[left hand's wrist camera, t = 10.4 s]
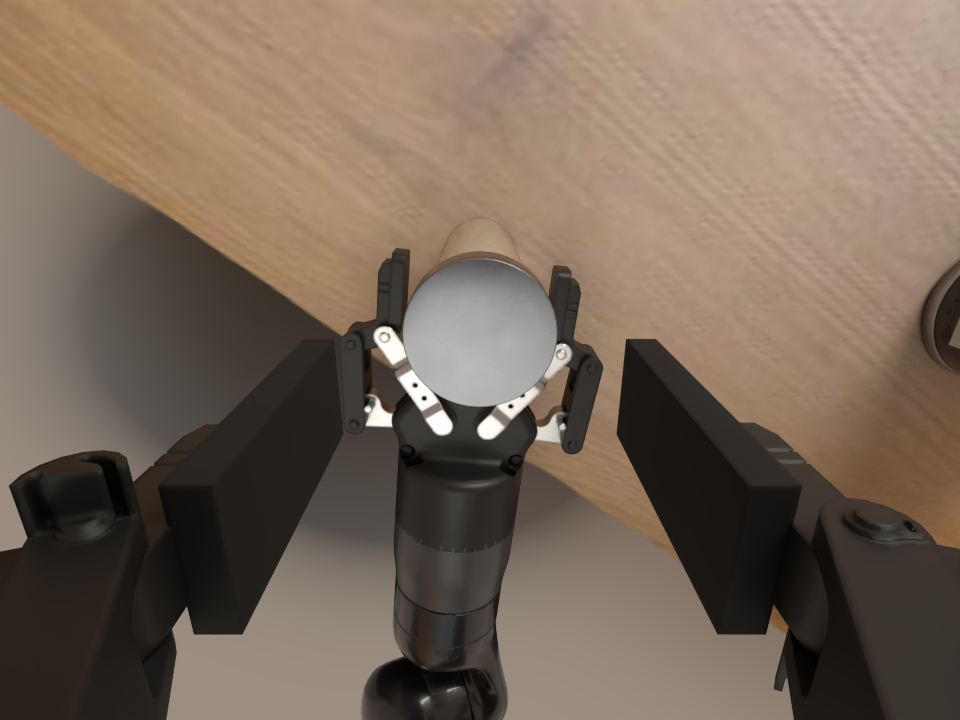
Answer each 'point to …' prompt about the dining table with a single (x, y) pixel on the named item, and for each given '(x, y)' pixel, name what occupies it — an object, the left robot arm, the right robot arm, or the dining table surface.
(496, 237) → the beige cylinder
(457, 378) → the lid
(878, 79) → the dining table surface
